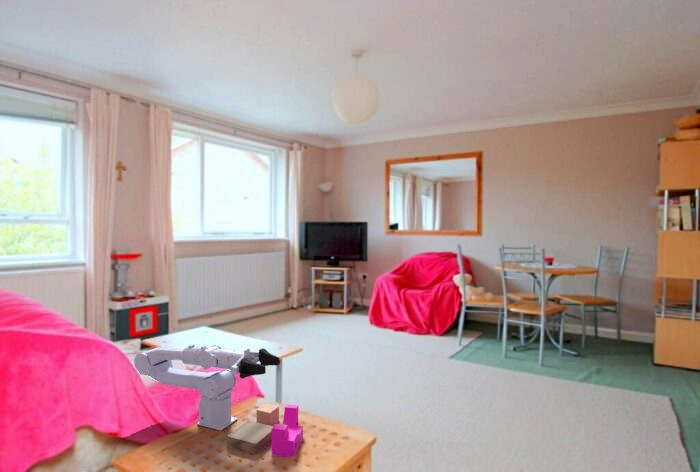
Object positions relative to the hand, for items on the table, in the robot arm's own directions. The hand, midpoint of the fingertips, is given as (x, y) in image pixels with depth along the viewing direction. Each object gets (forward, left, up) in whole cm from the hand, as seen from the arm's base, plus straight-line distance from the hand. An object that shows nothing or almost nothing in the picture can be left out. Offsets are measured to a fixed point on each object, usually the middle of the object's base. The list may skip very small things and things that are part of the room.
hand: (272, 365), depth 123 cm
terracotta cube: (-5, +6, -21) cm, 23 cm away
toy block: (+7, -1, -22) cm, 23 cm away
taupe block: (-3, -5, -21) cm, 22 cm away
